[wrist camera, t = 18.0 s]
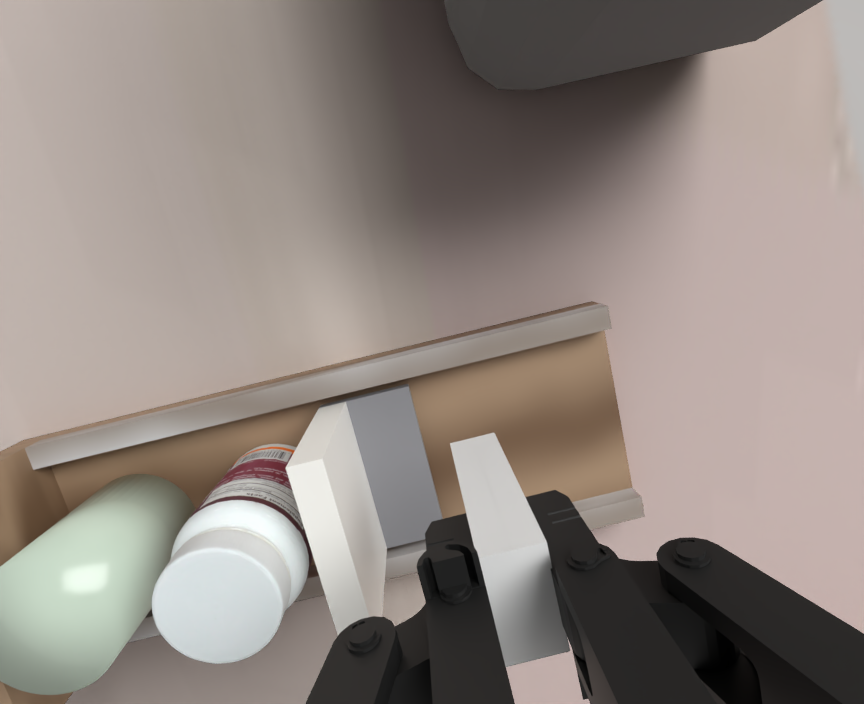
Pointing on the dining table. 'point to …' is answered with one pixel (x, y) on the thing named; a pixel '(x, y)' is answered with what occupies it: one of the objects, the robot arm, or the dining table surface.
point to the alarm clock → (600, 34)
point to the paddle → (362, 495)
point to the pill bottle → (235, 563)
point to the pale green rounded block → (87, 584)
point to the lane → (304, 393)
